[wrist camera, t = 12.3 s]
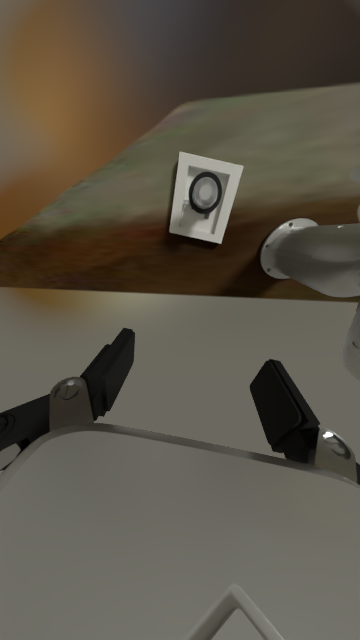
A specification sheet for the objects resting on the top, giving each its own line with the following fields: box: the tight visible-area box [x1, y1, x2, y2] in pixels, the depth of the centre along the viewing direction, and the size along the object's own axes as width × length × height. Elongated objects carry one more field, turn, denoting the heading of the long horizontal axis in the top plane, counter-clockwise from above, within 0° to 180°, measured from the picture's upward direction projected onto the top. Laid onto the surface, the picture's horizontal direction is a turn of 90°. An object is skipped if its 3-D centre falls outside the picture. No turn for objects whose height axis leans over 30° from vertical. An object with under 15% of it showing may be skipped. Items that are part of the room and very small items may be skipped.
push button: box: [184, 172, 222, 214], centre depth 28 cm, size 7×5×10 cm
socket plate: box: [169, 152, 244, 244], centre depth 32 cm, size 12×13×2 cm
